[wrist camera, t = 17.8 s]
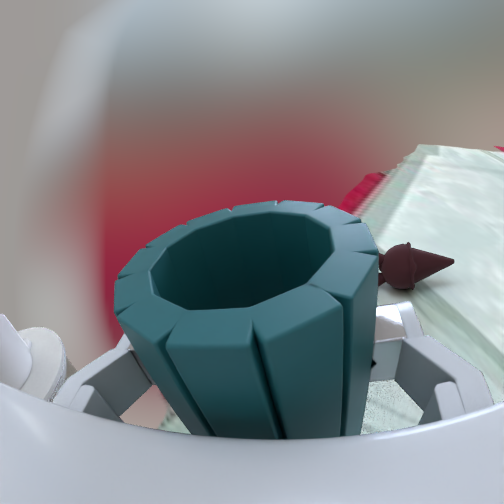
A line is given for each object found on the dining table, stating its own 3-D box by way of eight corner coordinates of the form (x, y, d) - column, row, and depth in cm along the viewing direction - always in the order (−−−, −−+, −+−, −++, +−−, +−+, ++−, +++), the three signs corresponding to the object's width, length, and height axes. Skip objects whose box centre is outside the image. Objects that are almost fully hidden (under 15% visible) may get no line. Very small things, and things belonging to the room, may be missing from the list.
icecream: (447, 231, 40) (356, 241, 45) (461, 244, 33) (355, 255, 39) (448, 274, 41) (360, 283, 47) (460, 292, 34) (359, 303, 40)
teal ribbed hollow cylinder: (195, 484, 9) (65, 339, 5) (225, 371, 15) (168, 215, 11) (362, 488, 8) (411, 330, 4) (353, 364, 13) (351, 191, 9)
